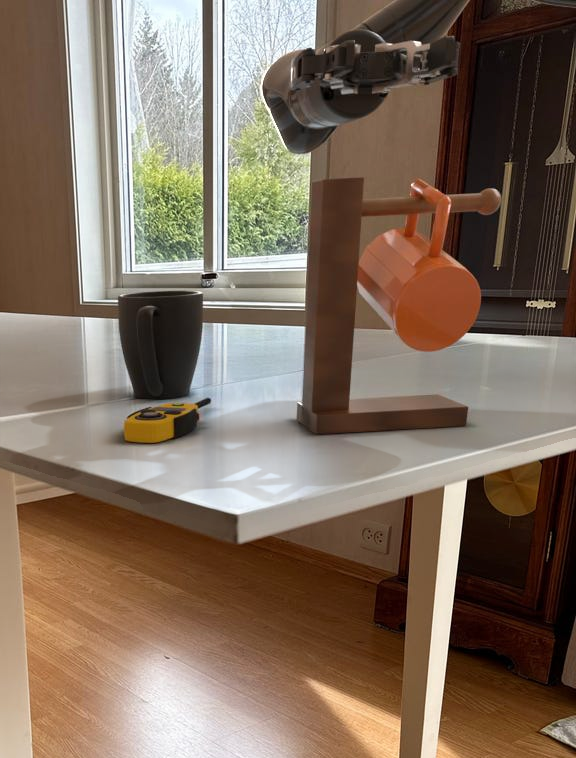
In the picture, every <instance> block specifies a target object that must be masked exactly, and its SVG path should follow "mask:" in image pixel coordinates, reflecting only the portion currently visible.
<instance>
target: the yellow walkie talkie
mask: <svg viewBox="0 0 576 758" xmlns="http://www.w3.org/2000/svg"><path fill="white" fill-rule="evenodd" d="M211 402H212V398H210V397H206V398H204V399H201V400H199V401H197V402H194V403H188V402H187V403H186V402H168V403H163V404H159V405H156V406H155V405H154V406H148V407H145V408H142V409H139V410H136V411H134V412H132V413H130V414H129V415H128V416H127V417H126V419H125V420H124V422H123V423H124V424H123V435H124V440H125V441H127V442H130V443H131V442H132V443H139V444H140V443H141V444H142V443H145V444H155V443H160V442H164V441H167V440H170V439H177V438H180V437H182V436H186V434H190V433H191V432H192V431H194V430H195V429H196V428H197V426H198V422H199V420H200V417H201V416H200V412H199V409H201V408H203V407H205V406H206V407H207V406H208V405H209V404H211Z"/></svg>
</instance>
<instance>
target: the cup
mask: <svg viewBox="0 0 576 758" xmlns="http://www.w3.org/2000/svg"><path fill="white" fill-rule="evenodd" d="M446 195H447V194H444V193H442V191H440V190H438V189H436V188H435V187H434V186H432V185H431V184H429V183H427V182H426V181H425V180H423V179H421V178H417V179H414V181H412V183H411V188H410V193H409V197H415V196H421V197H422V198H424V199H425V200H427V201H428V202H430V203H431V204H433V205H434V206H435V207H437V210H436V213H435V216H434V220H433V227H432V232H431V237H430V239H429V238H428V237H427V236H426V235H424V234H423V233H421V232H418V231H417V229H418V225H419V224H418V223H419V218H420V214H409V215H405V216H406V217H405V223H404V228H393V229H390V230H388V231H385V232H384V233H382V234H379V235H378V236H377V237H375V238H374V239H373V240H372V241H371V242H370V243H369V244H368V245H367V246H366V247H365V249H364V251H363V253H362V255H361V257H359V263H358V279H357V291H358V293H359V295H360V296H361V297H362V298H363V299H364V301H366V302H367V304H368V305H369V306H370V307H371V308H372V309H373V310H374V311H375V312H376V313H377V315H378V316H379V317H380V318H381V319H382V320H383V321H384V322H385V324H386V325H387V326H388V327H389V328H390V329H391V330H392V331H393V332H394V334H395V335H396V336H397V337H398V338H399V339H400V340H401V341H402V342H403V344H405V345H406V346H407V347H409V348H411V349H413V350H415V351H419V352H425V353H427V352H428V353H429V352H431V353H432V352H437V351H442V350H444V349H446V348H448V347H450V346H453V345H454V344H456V343H458V341H460V340H461V339H463V337H464V336H465V335H467V333H468V331H470V330H471V328H472V327H473V325H474V323H475V322H476V320H477V318H478V315H479V312H480V308H481V303H482V293H481V292H482V291H481V288H480V284H479V282H478V281H477V279H476V278H475V276H474V275H473V274H472V273H471V272H470V271H469V270H468V269H467V268H466V267H465V266H463V264H461V263H460V262H459V261H458V260H456V259H455V258H453V257H452V256H451V255H450V254H448V253H447V252H446V251H445V250H443V247H444V243H445V238H446V233H447V228H448V222H449V217H450V213H451V212H450V207H451V199H450V198H449V197H447V196H446Z"/></svg>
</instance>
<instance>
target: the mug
mask: <svg viewBox="0 0 576 758" xmlns="http://www.w3.org/2000/svg"><path fill="white" fill-rule="evenodd" d="M117 313H118V314H117V315H118V316H117V317H118V333H119V339H120V346H121V352H122V357H123V360H124V365H125V368H126V371H127V374H128V377H129V380H130V384H131V387H132V392H133V395H134V397H136V398H140V399H147V400H148V399H149V400H167V399H176V398H182V397H186V396H188V395H190V392H191V387H192V383H193V379H194V375H195V372H196V368H197V365H198V360H199V356H200V350H201V344H202V339H203V328H204V293H203V292H202V291H198V290H157V291H142V292H140V291H139V292H131V293H130V292H129V293H124V294H120V295H118V296H117Z"/></svg>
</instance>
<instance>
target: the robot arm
mask: <svg viewBox="0 0 576 758" xmlns="http://www.w3.org/2000/svg"><path fill="white" fill-rule="evenodd" d="M470 1H471V0H393V1H391V2H389V4H387V5H385V6H384V7H382V8H381V9H380V10H378V11H377V12H376V13H374V14H372V15H370V16H369V17H368V18H366V19H365V20H364V21H362V22H360V23H359V24H357V25H356V26H355V27H353V28H352V29H350V30H348V31H346V32H344V33H342V34H340V35H338V36H337V37H335V38H334V39H332V40H331V41H329V42H328V43H326V44H324V45H323V46H321V48H319V49H316V48H313V47H306V48H303V49H297V50H293V51H290V52H288V53H285V54H283V55H282V56H280V57H279V58H277V59H276V60H274V62H273V63H271V65H269V67H268V68H267V69H266V71H265V73H264V74H263V76H262V79H261V84H260V91H261V92H260V93H261V96H262V99H263V102H264V104H265V107H266V109H267V110H268V113H269V114H270V117H271V119H272V121H273V124H274V126H275V128H276V130H277V133H278V135H279V137H280V139H281V142H282V144H283V145H284V147H285V148H286V150H287V151H288V152H289V153H291V154H294V155H307V154H310V153H312V152H315V151H316V150H318V149H320V148H321V146H323V145H325V143H326V142H327V141H328V140H329V139H330V138H331V137H332V136H333V135H334V134H335V133H336V131H337V130H338V129H339V128H340V127H341V126H342V125H345V124H349V123H351V122H354V121H357V120H359V119H362V118H365V117H367V116H369V115H370V114H372V113H373V112H375V111H376V110H377V109H378V108H379V107H380V106H382V104H383V103H384V102H385V100H386V99H387V98H388V96H389V93H391V91H392V90H393V89H399V88H400V89H401V88H406V87H413V86H416V85H418V83H419V84H420V85H423V86H430V84H433V83H437V82H439V81H441V80H445V79H448V78H454V76H457V75H458V70H459V68H458V64H459V54H460V49H461V48H460V47H461V42H458V41H457V40H455V36H454V35H446V34H447V33H448V32H449V30H450V29H451V27H453V25H454V23H456V21H457V19H458V17H459V16H460V15H461V14H462V12H463V10H464V8H466V7H467V5H468V3H469V2H470ZM530 2H533V3H534V2H535V3H538V4H542V5H548V6H555V7H564V8H573V9H576V0H530Z"/></svg>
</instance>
